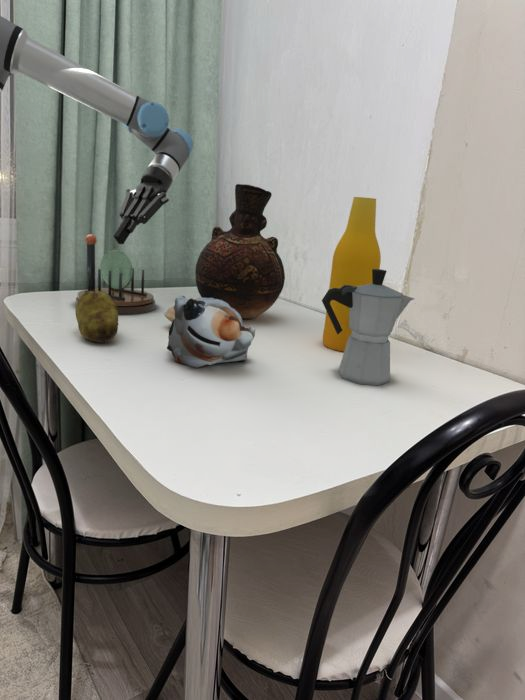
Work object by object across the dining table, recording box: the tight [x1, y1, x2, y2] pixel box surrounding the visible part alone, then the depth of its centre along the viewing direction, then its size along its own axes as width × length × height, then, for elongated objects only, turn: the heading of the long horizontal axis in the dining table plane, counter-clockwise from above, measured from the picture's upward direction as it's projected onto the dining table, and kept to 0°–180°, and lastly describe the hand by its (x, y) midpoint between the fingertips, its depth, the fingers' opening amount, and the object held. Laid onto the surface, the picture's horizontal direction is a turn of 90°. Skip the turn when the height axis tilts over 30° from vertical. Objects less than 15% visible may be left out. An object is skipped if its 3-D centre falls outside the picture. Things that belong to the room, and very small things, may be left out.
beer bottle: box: [322, 196, 382, 353], centre depth 98 cm, size 9×9×29 cm
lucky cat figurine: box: [166, 294, 256, 369], centre depth 83 cm, size 15×12×14 cm
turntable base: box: [75, 296, 156, 316], centre depth 120 cm, size 18×18×2 cm
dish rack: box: [77, 233, 155, 306], centre depth 117 cm, size 18×17×14 cm
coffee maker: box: [321, 268, 415, 386], centre depth 82 cm, size 15×9×18 cm, turn 92°
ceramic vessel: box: [194, 183, 286, 319], centre depth 116 cm, size 21×18×30 cm
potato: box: [75, 291, 119, 344], centre depth 93 cm, size 8×13×8 cm, turn 9°
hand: (118, 240), depth 127 cm, fingers closed
